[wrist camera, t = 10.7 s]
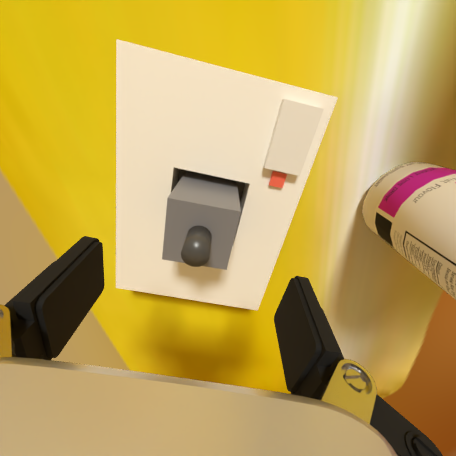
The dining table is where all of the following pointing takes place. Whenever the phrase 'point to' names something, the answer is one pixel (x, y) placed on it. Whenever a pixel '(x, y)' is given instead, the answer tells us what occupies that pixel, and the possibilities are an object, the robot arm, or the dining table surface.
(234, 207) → the plug
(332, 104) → the socket
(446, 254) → the supplement can
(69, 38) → the dining table surface
